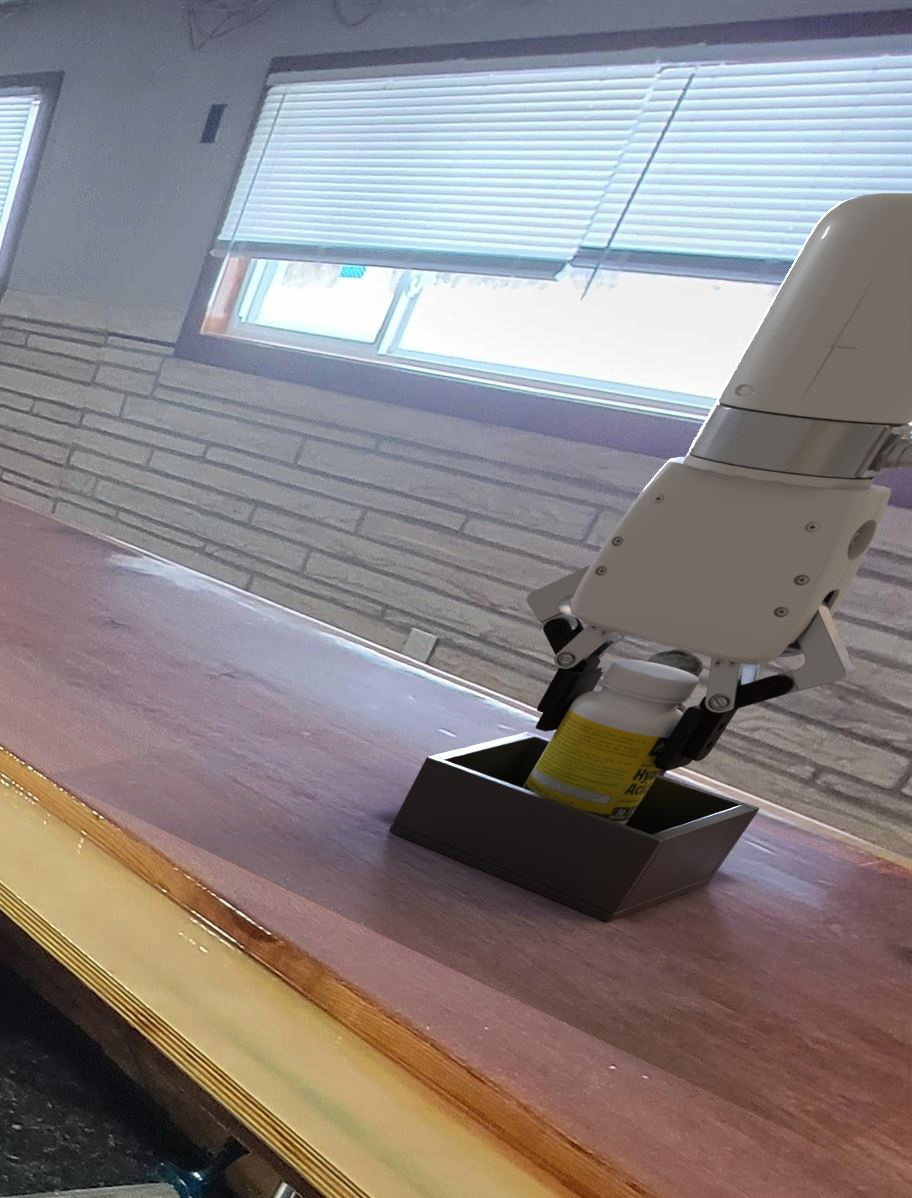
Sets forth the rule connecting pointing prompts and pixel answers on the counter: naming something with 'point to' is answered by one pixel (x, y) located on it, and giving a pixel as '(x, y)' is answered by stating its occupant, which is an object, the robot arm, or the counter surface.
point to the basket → (568, 831)
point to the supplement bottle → (613, 739)
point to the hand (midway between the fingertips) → (611, 743)
